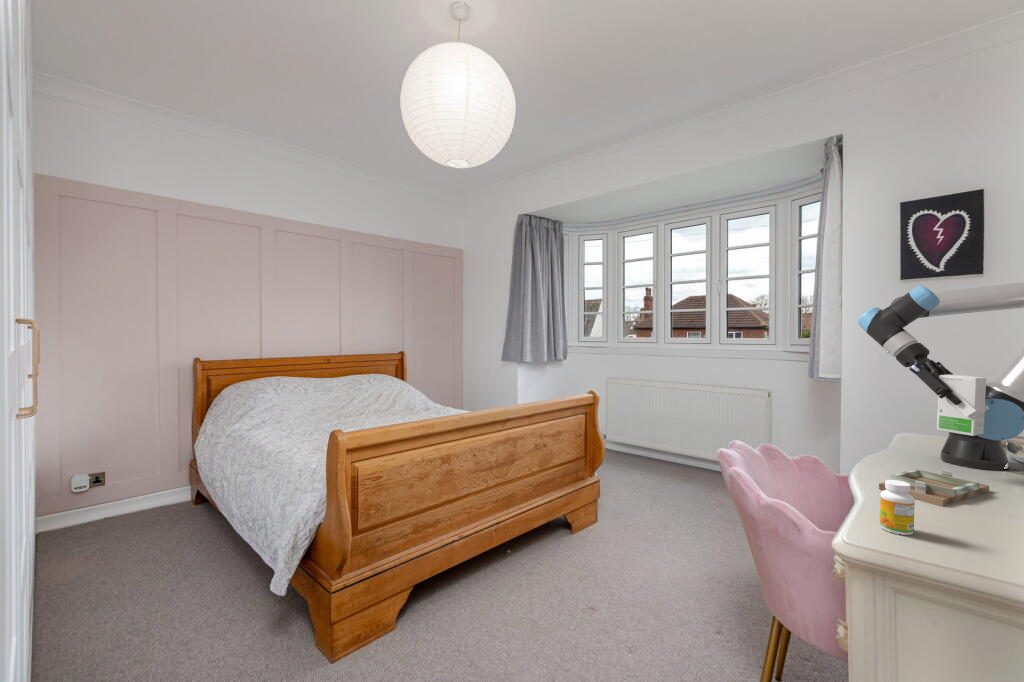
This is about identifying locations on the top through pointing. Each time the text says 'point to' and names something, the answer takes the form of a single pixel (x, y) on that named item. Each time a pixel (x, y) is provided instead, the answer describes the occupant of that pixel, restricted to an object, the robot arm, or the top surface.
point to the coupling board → (938, 486)
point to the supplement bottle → (897, 508)
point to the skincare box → (953, 417)
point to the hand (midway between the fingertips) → (978, 412)
